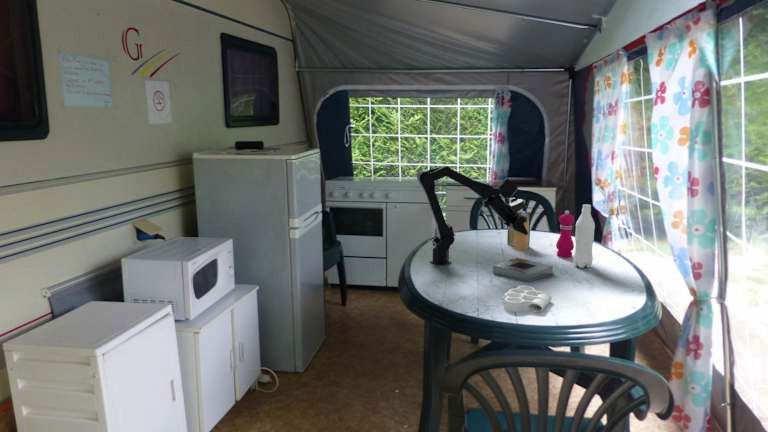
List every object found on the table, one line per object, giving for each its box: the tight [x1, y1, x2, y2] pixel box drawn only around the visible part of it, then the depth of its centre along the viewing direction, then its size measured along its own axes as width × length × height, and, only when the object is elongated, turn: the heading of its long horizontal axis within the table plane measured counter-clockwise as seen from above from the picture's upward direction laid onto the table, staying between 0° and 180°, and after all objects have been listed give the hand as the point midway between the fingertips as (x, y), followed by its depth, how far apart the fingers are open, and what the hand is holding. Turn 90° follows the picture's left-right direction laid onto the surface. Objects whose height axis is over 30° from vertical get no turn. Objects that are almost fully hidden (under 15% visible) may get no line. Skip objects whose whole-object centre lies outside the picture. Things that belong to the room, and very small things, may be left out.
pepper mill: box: [555, 209, 575, 259], centre depth 225 cm, size 7×7×20 cm
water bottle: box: [572, 203, 596, 269], centre depth 209 cm, size 7×7×25 cm
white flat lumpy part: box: [499, 285, 553, 313], centre depth 171 cm, size 3×18×15 cm
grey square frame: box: [492, 257, 554, 283], centre depth 203 cm, size 16×16×3 cm
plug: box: [513, 211, 529, 252], centre depth 219 cm, size 6×6×16 cm
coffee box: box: [506, 209, 532, 248], centre depth 244 cm, size 9×6×16 cm
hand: (524, 232), depth 220 cm, fingers closed on plug, 6 cm apart
